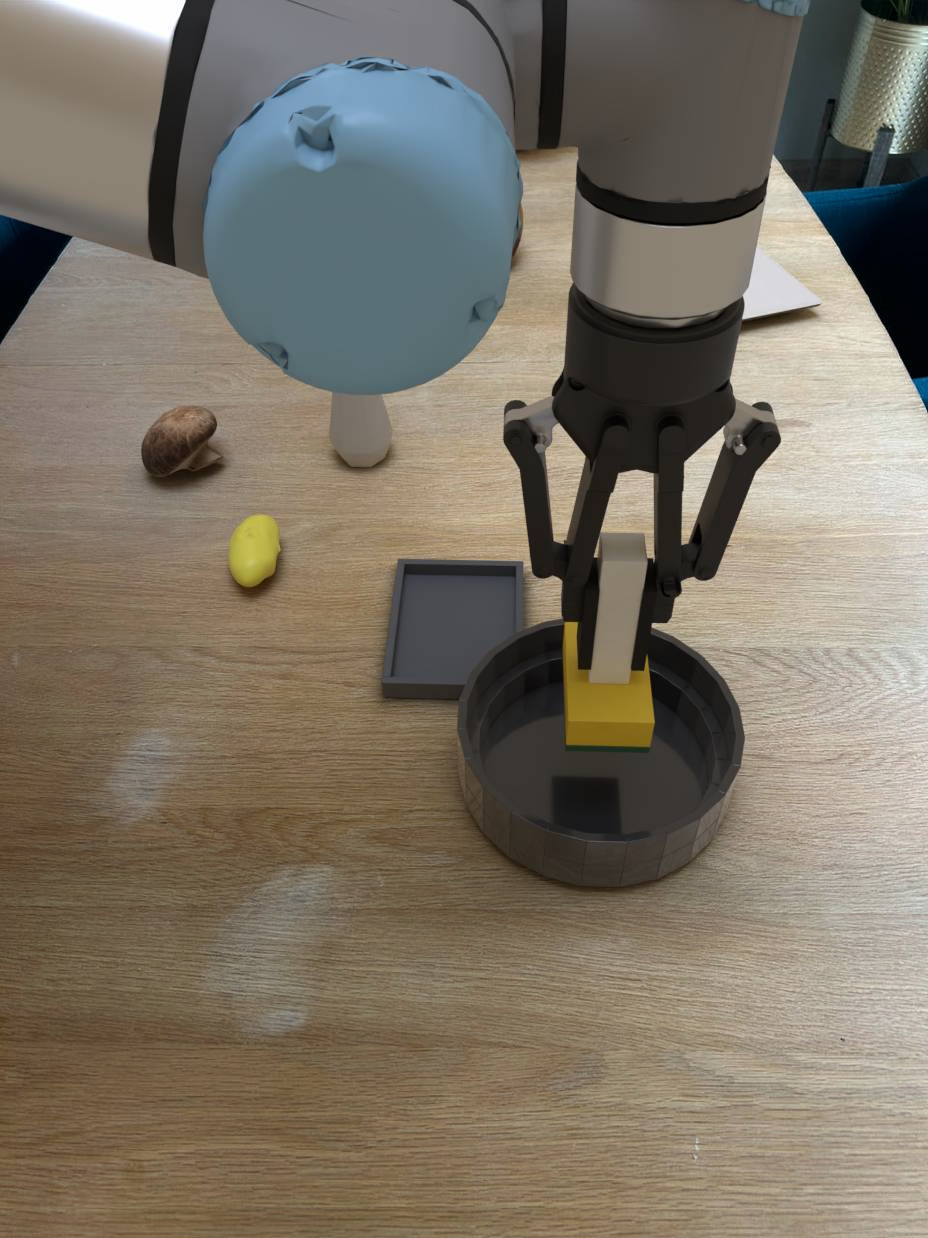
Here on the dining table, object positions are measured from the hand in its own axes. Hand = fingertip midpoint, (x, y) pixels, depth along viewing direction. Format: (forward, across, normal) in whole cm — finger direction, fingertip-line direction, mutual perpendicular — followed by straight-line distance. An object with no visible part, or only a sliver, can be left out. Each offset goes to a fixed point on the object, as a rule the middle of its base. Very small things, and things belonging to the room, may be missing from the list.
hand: (609, 652), depth 60 cm
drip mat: (+12, +10, -13) cm, 20 cm away
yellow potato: (+12, +27, -20) cm, 36 cm away
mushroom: (+12, +36, -33) cm, 51 cm away
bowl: (+12, 0, 0) cm, 12 cm away
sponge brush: (+5, 0, 0) cm, 5 cm away
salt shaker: (+12, +20, -35) cm, 42 cm away
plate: (+13, -15, -66) cm, 69 cm away
